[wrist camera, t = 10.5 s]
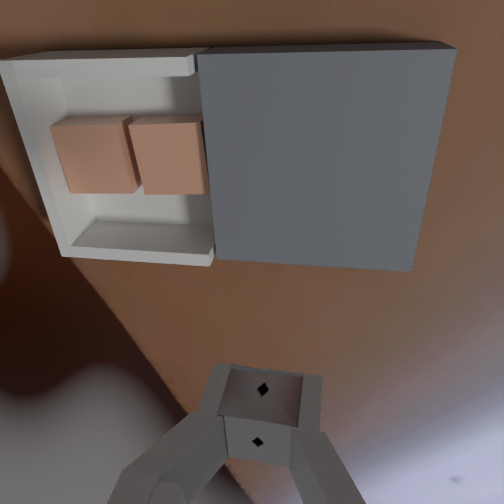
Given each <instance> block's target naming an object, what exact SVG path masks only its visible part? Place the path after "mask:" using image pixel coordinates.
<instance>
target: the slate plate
mask: <svg viewBox="0 0 504 504" xmlns="http://www.w3.org/2000/svg"><path fill="white" fill-rule="evenodd" d="M456 54H457V49H456V48H454V47H452V46H450V45H447V44H445V43H443V42H402V43H361V44H320V45H279V46H238V47H213V48H211V49H209V50H206V51H204V52H202V53H199V54H197V62H198V72H199V82H200V92H201V102H202V112H203V122H204V133H205V143H206V153H207V163H208V173H209V183H210V193H211V204H212V214H213V224H214V234H215V244H216V254H217V259H220V260H236V261H251V262H266V263H282V264H297V265H313V266H328V267H344V268H359V269H375V270H390V271H406V272H412V267H413V262H414V258H415V253H416V248H417V243H418V238H419V233H420V228H421V224H422V219H423V214H424V209H425V204H426V199H427V194H428V190H429V185H430V180H431V175H432V170H433V165H434V160H435V156H436V151H437V146H438V141H439V136H440V131H441V126H442V122H443V117H444V112H445V107H446V102H447V97H448V92H449V88H450V83H451V78H452V73H453V68H454V63H455V58H456Z"/></svg>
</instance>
